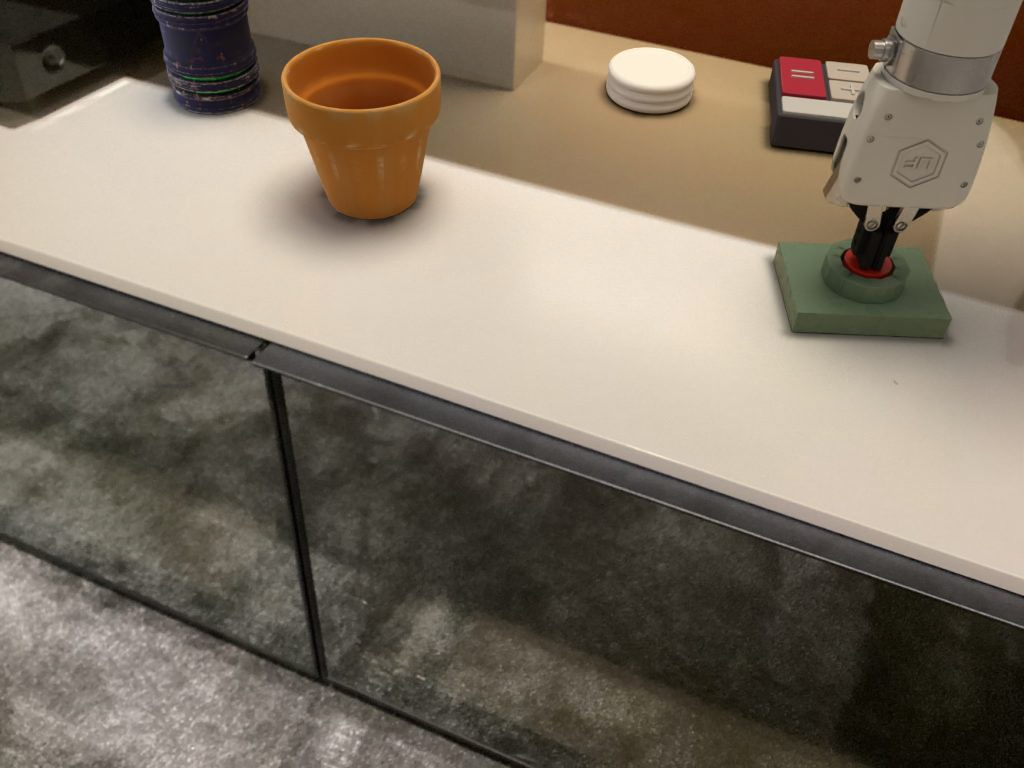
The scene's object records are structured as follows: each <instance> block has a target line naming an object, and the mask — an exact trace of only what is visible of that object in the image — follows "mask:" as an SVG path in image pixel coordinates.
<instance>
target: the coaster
mask: <svg viewBox="0 0 1024 768" xmlns="http://www.w3.org/2000/svg"><path fill="white" fill-rule="evenodd" d="M696 76H697V73H696V68H695V66H694V65H693V63H692V62H691V61H690V60H689V59H688V58H687V57H685V56H683V55H682V54H679V53H678V52H675V51H672V50H669V49H665V48H660V47H647V46H645V47H634V48H629V49H625V50H622V51H620V52H618V53H617V54H615V55H614V56H613V57H612V58H610V60H609V62H608V66H607V75H606V80H607V81H606V84H605V88H606V92H607V95H608V97H609V98H610V99H611V100H612V101H613V102H614V103H616V104H617V105H619V106H620V107H622V108H625V109H627V110H630V111H633V112H636V113H641V114H642V113H643V114H654V115H655V114H667V113H672V112H674V111H677V110H680V109H682V108H684V107H686V105H688V104H689V102H690V101H691V99H692V97H693V93H694V92H693V90H694V88H695V79H696Z"/></svg>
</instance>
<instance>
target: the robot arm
mask: <svg viewBox="0 0 1024 768" xmlns="http://www.w3.org/2000/svg"><path fill="white" fill-rule="evenodd" d="M1023 1H1024V0H902V2H901V6H900V10H899V12H898V15H897V19H896V21H895V25H891V28H890V31H889V34H888V35H887V36H886V37H883V38H882V39H871V41H870V43H869V46H868V49H867V57H868V59H870V60H878V61H877V62H876V63H875V64H874V65H873V67H872V68H871V70H870V73H869V75H868V77H867V78H866V80H865V82H864V84H863V86H862V87H861V89H860V91H859V93H858V95H857V97H856V99H855V101H854V103H853V106H852V108H851V110H850V112H849V115H848V117H847V120H846V122H845V125H844V127H843V130H842V132H841V135H840V138H839V140H838V143H837V146H836V149H835V152H833V155H832V159H831V160H832V161H831V165H830V169H831V172H832V174H831V175H830V177H829V178H828V180H827V182H826V183H825V185H824V187H823V188H822V193H823V196H824V199H825V201H826V202H827V203H828V204H831V205H835V206H838V207H843V208H849V209H850V210H851V211H852V212H853V214H854V215H855V216H856V217H857V219H858V222H857V225H856V228H855V231H854V233H853V237H852V238H851V239H852V243H851V251H852V254H853V255H856V258H857V260H858V263H859V266H860V269H861V270H868V269H870V268H871V269H873V270H874V271H881V269H882V266H883V264H884V261H885V258H886V257H890V255H891V253H892V250H893V248H894V247H895V245H896V243H897V242H896V241H897V240H898V237H899V234H900V233H904V232H905V231H906V230H908V228H909V227H910V225H911V223H912V222H914V221H916V220H917V219H919V218H921V217H922V216H924V215H926V214H928V213H929V212H930V211H931V212H938V211H943V210H951V209H955V207H957V206H960V205H962V204H963V203H964V202H965V200H966V199H967V198H968V196H969V194H970V192H971V190H972V187H973V185H974V182H975V179H976V178H977V175H978V171H979V168H980V166H981V163H982V158H983V156H984V153H985V150H986V147H987V145H988V141H989V137H990V133H991V129H992V125H993V120H994V116H995V111H996V106H997V100H998V93H999V86H998V84H997V83H996V82H995V81H994V80H993V79H992V76H993V75H994V71H995V69H996V66H997V64H998V62H999V59H1000V57H1001V55H1002V52H1003V50H1004V47H1005V45H1006V43H1007V41H1008V37H1009V35H1010V33H1011V30H1012V28H1013V25H1014V24H1015V21H1016V18H1017V15H1018V13H1019V11H1020V8H1021V7H1022V3H1023ZM884 207H885V210H883V209H884Z"/></svg>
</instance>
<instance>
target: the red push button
mask: <svg viewBox="0 0 1024 768" xmlns="http://www.w3.org/2000/svg"><path fill="white" fill-rule="evenodd" d="M842 264H843V266H844V267H845V268H847V269H848V270H849V271H850V272H851V273H853V274H855V275H858V276H861V277H864V278H867V279H883V278H886V277H888V276H889V274H890V271H891V268H892V262H891V260H890V259H889V257H886V258H885V261H884V264H883V266H882V269H881V271H874V270H873V269H871V268H870V269H868V270H861V269H860V266H859V263H858V260H857V258H856V255H853V254H852V251H851V249H850V250H848V251H847V252H846V254H845V256H844V259H843V262H842Z"/></svg>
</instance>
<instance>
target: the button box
mask: <svg viewBox="0 0 1024 768" xmlns="http://www.w3.org/2000/svg"><path fill="white" fill-rule="evenodd" d="M852 239H853V238H845V239H843V240H840V241H838V242H834V243H819V242H818V243H816V242H798V241H797V242H795V241H794V242H793V241H778V242H777V246H776V249H775V254H774V257H773V264H774V268H775V271H776V275H777V279H778V283H779V286H780V291H781V294H782V299H783V302H784V305H785V309H786V313H787V317H788V321H789V326H790V329H791V332H793V333H815V334H835V335H836V334H838V335H857V336H858V335H860V336H861V335H863V336H884V337H885V336H886V337H907V338H909V337H910V338H930V339H931V338H933V339H945V336H946V334H947V333H948V330H949V327H950V325H951V323H952V321H953V317H952V315H951V312H950V311H949V308H948V306H947V304H946V301H945V299H944V297H943V295H942V293H941V291H940V288H939V286H938V284H937V281H936V279H935V277H934V275H933V272H932V271H931V268H930V266H929V263H928V262H927V259H926V257H925V255H924V253H923V250H922V248H921V247H915V246H914V247H912V246H894V248H893V250H892V253H891V255H890V257H889V259H890V260H891V262H892V268H891V271H890V274H889V276H888V277H886V278H883V279H867V278H864V277H861V276H858V275H855V274H853V273H851V272H850V271H849V270H848V269H847V268H845V267H844V266H843V264H842V262H843V259H844V256H845V254H846V252H847V251H848V250H850V249H851V243H852Z"/></svg>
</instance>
